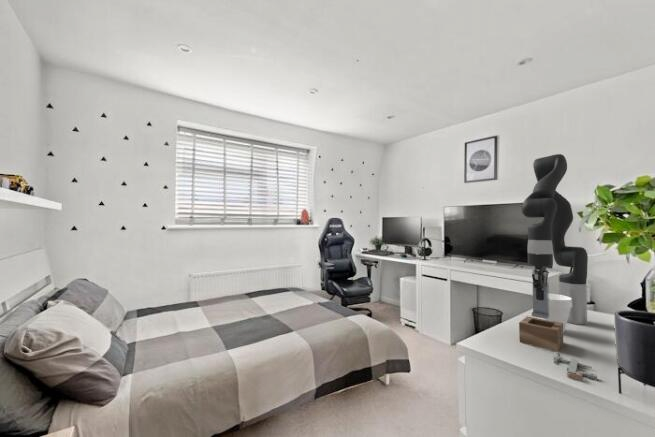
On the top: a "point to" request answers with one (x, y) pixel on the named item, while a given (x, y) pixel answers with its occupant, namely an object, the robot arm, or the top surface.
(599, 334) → the top surface
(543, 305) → the grey upright bar
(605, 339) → the top surface
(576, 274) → the robot arm
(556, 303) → the cup
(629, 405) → the top surface
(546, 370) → the top surface
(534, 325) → the well block
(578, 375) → the clamp
